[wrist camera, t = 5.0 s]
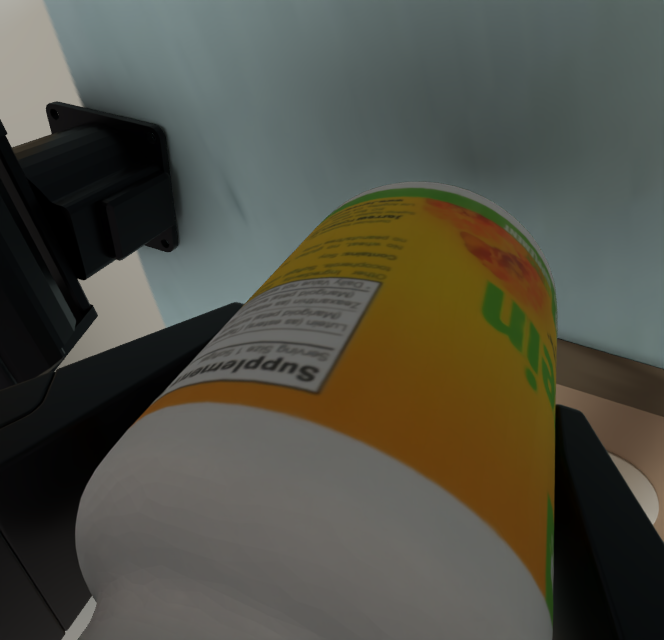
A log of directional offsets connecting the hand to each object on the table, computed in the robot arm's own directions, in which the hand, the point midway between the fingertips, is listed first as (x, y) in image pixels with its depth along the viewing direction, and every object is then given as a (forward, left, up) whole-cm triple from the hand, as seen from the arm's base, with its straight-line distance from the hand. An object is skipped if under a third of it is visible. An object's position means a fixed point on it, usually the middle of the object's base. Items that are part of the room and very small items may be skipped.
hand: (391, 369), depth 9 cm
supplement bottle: (0, 0, -3) cm, 3 cm away
